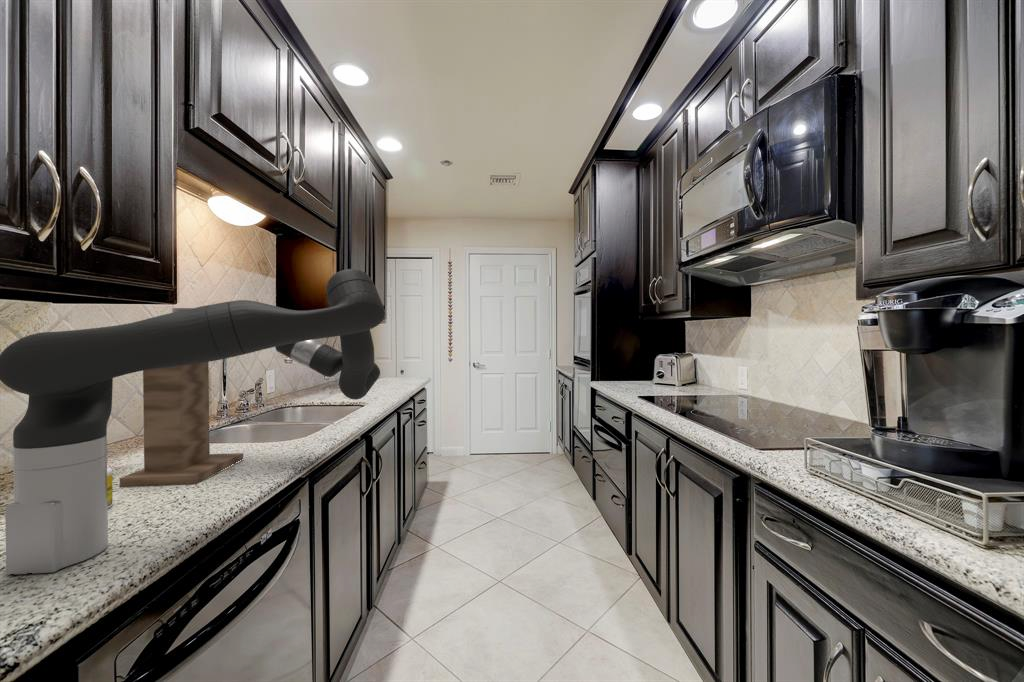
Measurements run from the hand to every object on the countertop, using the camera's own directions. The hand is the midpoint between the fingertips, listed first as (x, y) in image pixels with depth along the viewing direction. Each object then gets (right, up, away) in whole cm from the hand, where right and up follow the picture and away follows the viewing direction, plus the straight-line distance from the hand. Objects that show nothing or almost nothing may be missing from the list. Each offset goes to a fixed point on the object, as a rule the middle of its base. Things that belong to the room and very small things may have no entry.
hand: (239, 313), depth 101 cm
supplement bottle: (-12, -39, -24) cm, 48 cm away
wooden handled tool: (-3, -3, 0) cm, 4 cm away
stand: (-12, -39, -2) cm, 41 cm away
